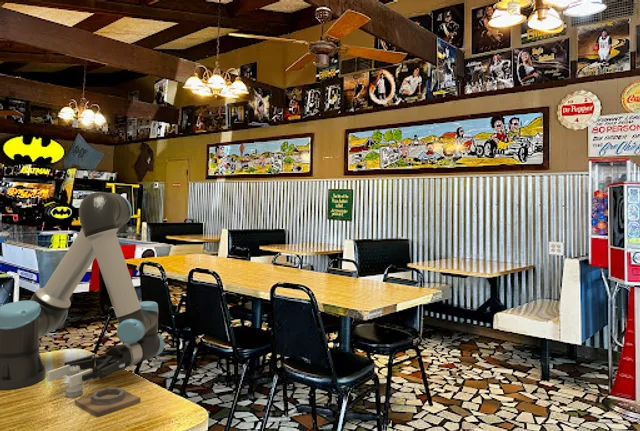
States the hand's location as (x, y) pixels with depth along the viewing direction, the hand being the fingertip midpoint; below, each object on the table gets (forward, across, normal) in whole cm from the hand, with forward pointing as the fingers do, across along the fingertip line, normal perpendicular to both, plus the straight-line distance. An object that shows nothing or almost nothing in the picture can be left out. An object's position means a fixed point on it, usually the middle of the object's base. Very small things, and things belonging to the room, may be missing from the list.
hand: (59, 379), depth 125 cm
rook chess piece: (-5, 0, -6) cm, 8 cm away
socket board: (-5, -13, -6) cm, 15 cm away
